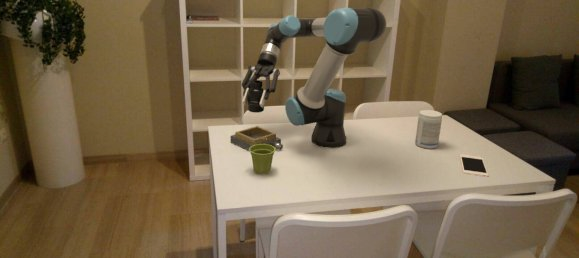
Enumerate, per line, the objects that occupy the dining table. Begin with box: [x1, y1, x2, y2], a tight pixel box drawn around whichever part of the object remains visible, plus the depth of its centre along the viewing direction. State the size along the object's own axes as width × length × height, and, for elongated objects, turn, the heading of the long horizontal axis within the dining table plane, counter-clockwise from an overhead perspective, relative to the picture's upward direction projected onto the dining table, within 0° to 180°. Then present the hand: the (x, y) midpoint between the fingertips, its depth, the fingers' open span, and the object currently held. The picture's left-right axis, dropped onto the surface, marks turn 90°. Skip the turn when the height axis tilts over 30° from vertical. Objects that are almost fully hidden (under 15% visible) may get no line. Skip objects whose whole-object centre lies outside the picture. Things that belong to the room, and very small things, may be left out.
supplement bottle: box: [247, 80, 265, 113], centre depth 176 cm, size 7×7×12 cm
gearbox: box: [230, 125, 283, 152], centre depth 181 cm, size 20×14×5 cm
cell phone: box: [459, 153, 489, 177], centre depth 170 cm, size 9×18×1 cm, turn 164°
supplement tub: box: [414, 109, 443, 150], centre depth 186 cm, size 10×10×15 cm
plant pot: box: [248, 144, 276, 175], centre depth 157 cm, size 9×9×9 cm
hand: (252, 104), depth 173 cm, fingers closed on supplement bottle, 7 cm apart
